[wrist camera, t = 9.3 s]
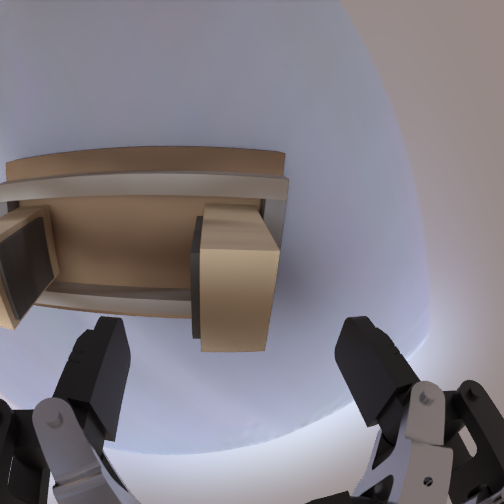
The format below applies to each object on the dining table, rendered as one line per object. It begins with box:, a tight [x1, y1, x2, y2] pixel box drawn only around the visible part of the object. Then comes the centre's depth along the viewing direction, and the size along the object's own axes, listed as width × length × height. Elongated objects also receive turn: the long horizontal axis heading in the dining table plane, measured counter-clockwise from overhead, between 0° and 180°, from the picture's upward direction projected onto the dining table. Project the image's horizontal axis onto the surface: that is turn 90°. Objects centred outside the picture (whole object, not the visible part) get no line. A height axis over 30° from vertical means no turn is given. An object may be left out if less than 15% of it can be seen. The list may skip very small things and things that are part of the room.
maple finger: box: [190, 203, 280, 352], centre depth 14 cm, size 5×3×7 cm, turn 175°
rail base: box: [0, 146, 289, 330], centre depth 14 cm, size 12×20×8 cm, turn 85°
